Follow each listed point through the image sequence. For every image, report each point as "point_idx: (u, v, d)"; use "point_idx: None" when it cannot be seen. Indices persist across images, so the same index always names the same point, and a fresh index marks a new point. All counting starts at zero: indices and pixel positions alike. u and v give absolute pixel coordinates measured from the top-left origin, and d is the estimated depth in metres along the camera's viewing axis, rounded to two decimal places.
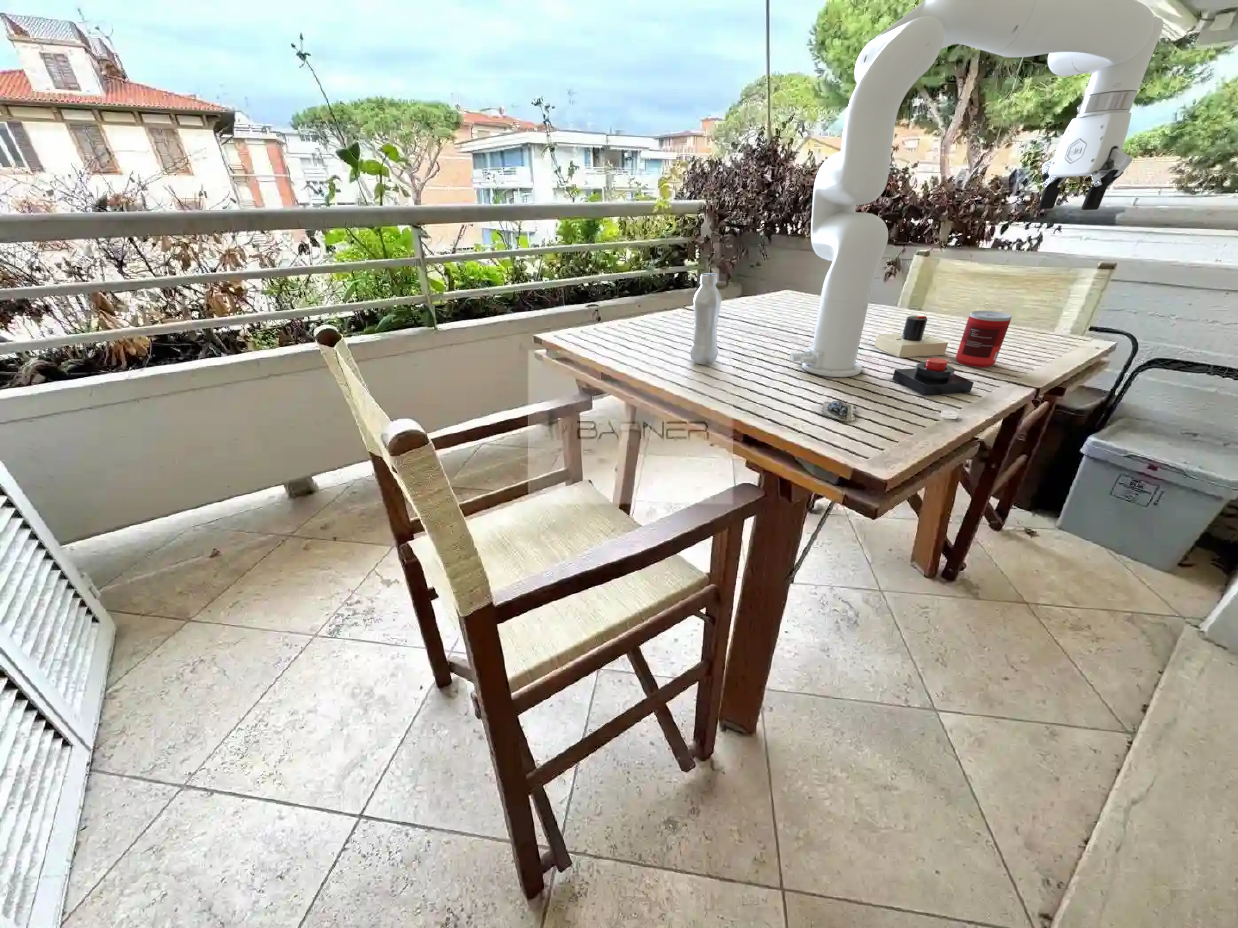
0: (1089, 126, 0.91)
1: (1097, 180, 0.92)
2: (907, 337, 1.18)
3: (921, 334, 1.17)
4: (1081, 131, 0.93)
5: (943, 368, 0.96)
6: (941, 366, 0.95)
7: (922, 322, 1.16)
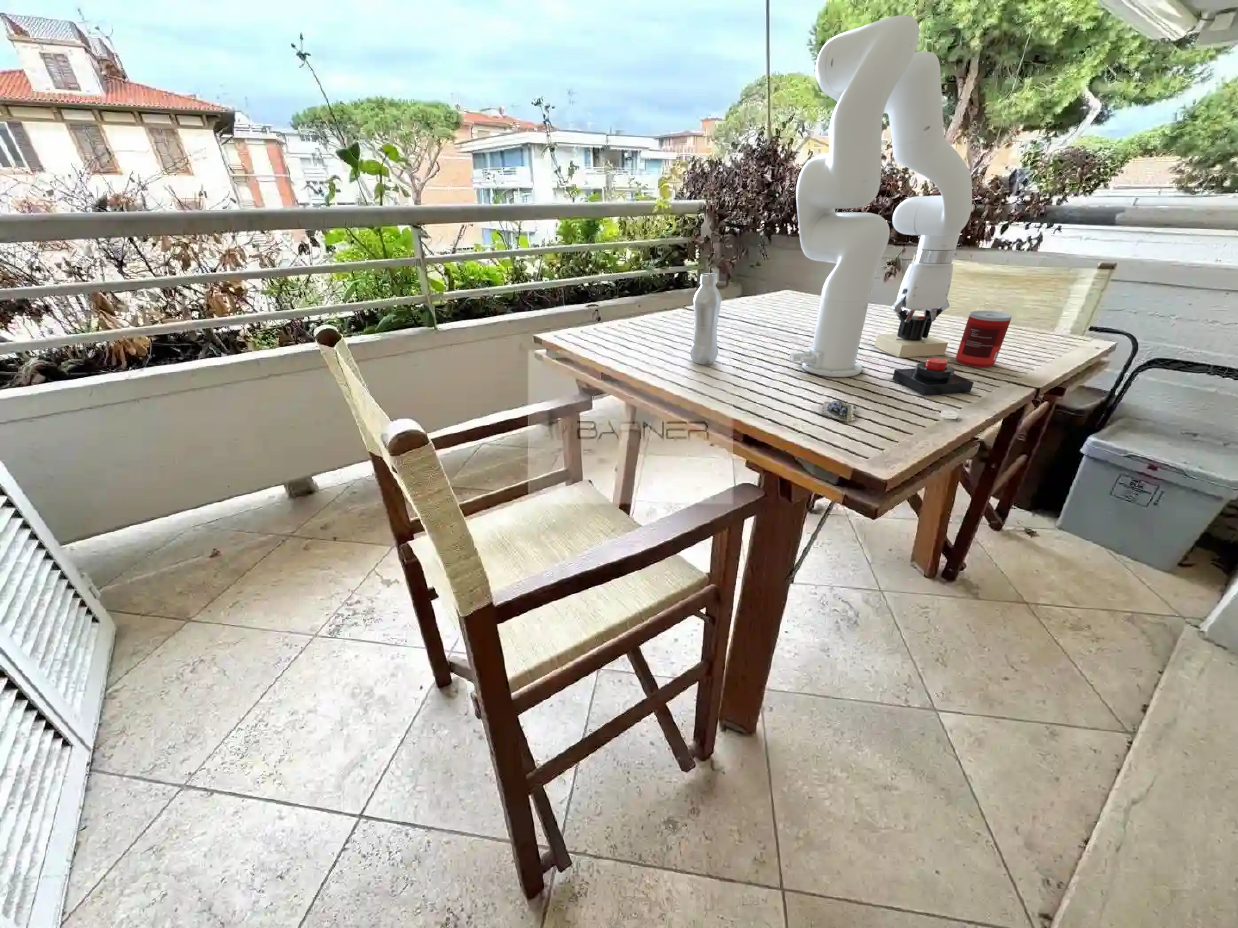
0: None
1: None
2: None
3: (921, 334, 1.17)
4: None
5: (943, 368, 0.96)
6: (941, 366, 0.95)
7: (922, 322, 1.16)
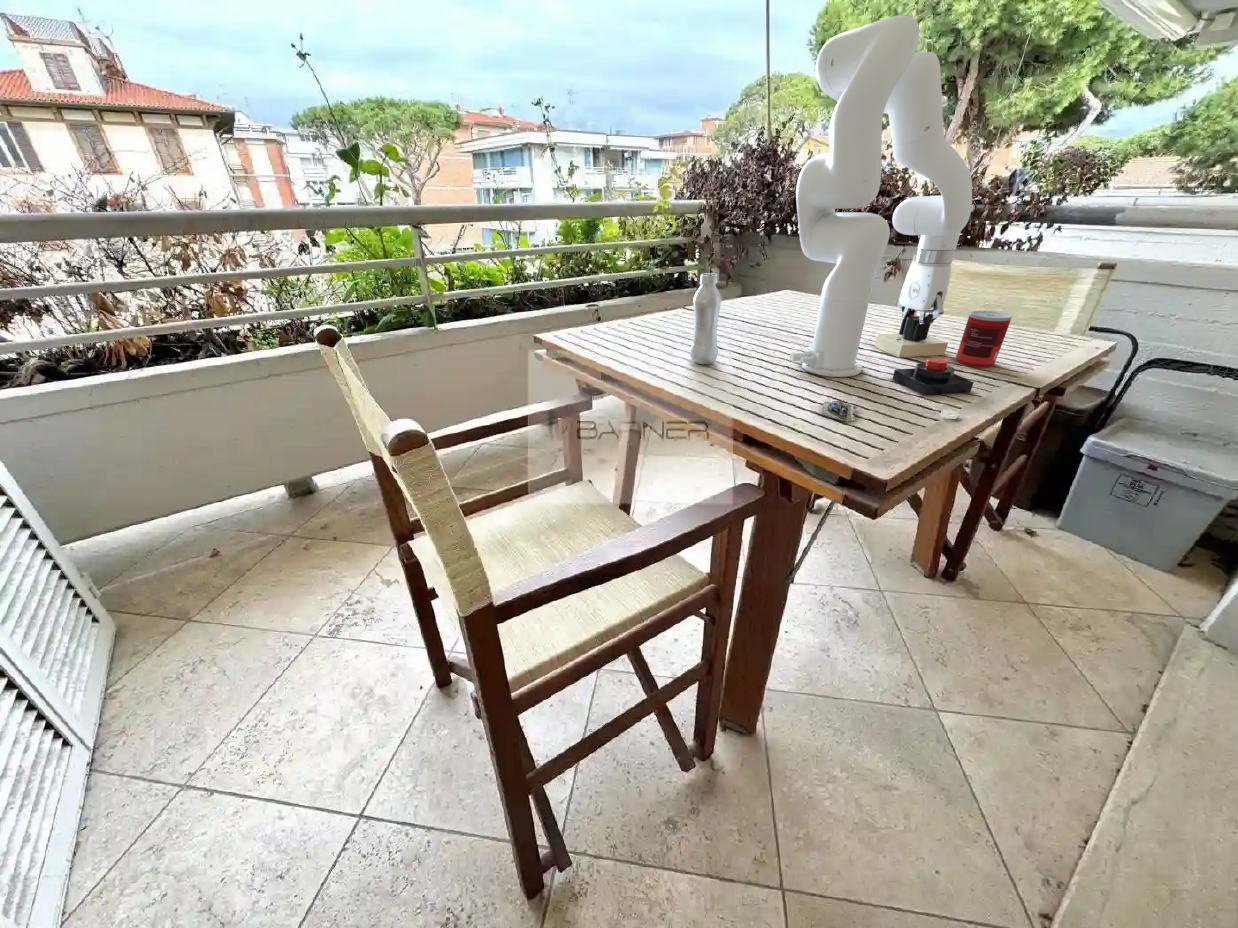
0: (921, 273, 1.11)
1: (921, 319, 1.14)
2: None
3: None
4: (916, 275, 1.13)
5: (943, 368, 0.96)
6: (941, 366, 0.95)
7: None
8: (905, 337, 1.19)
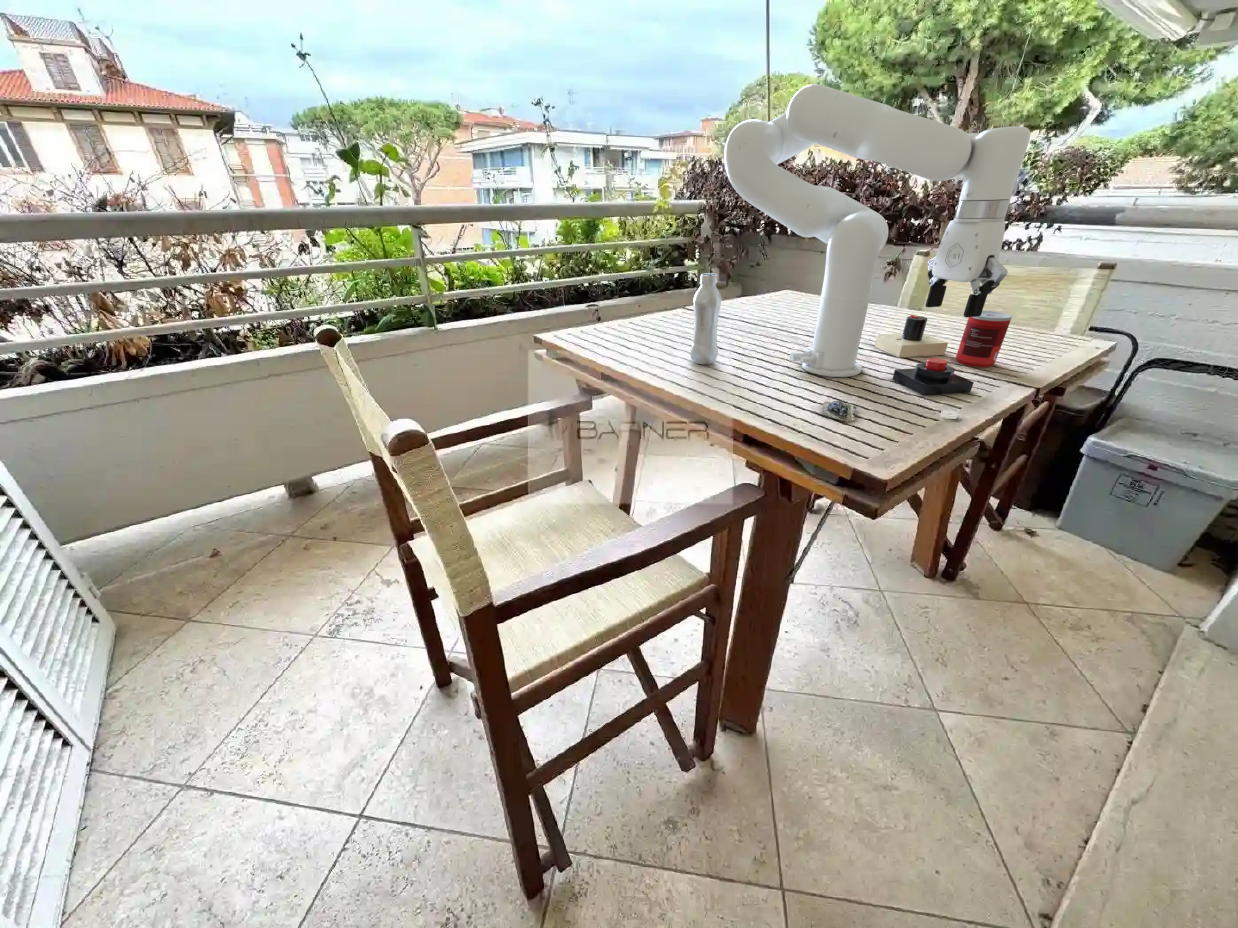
0: (965, 232, 0.86)
1: (976, 289, 0.86)
2: (921, 337, 1.18)
3: None
4: (958, 236, 0.87)
5: (943, 368, 0.96)
6: (941, 366, 0.95)
7: None
8: (905, 337, 1.19)
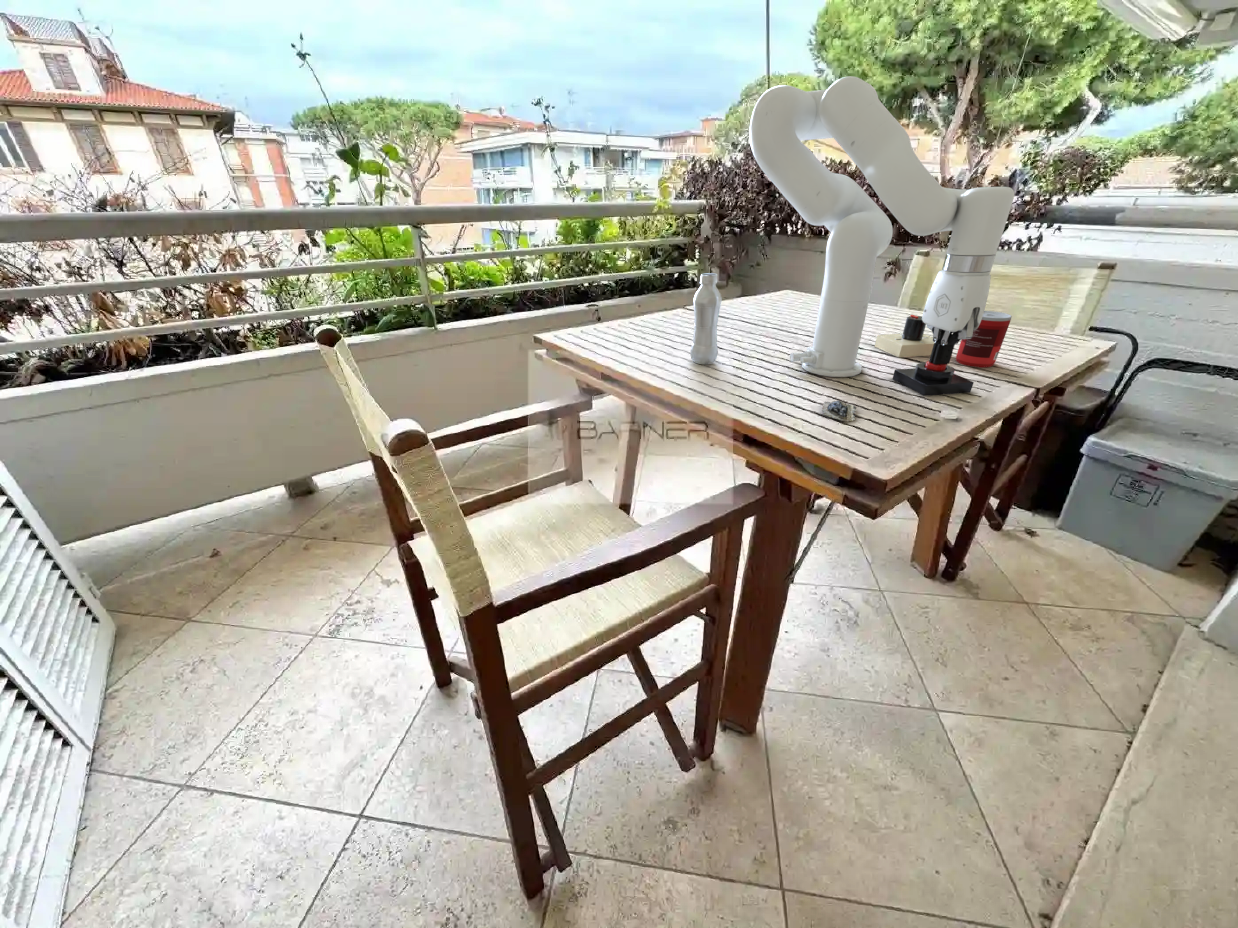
0: (952, 284, 0.88)
1: (944, 340, 0.93)
2: (921, 337, 1.18)
3: None
4: (945, 286, 0.90)
5: None
6: (940, 368, 0.96)
7: None
8: (905, 337, 1.19)
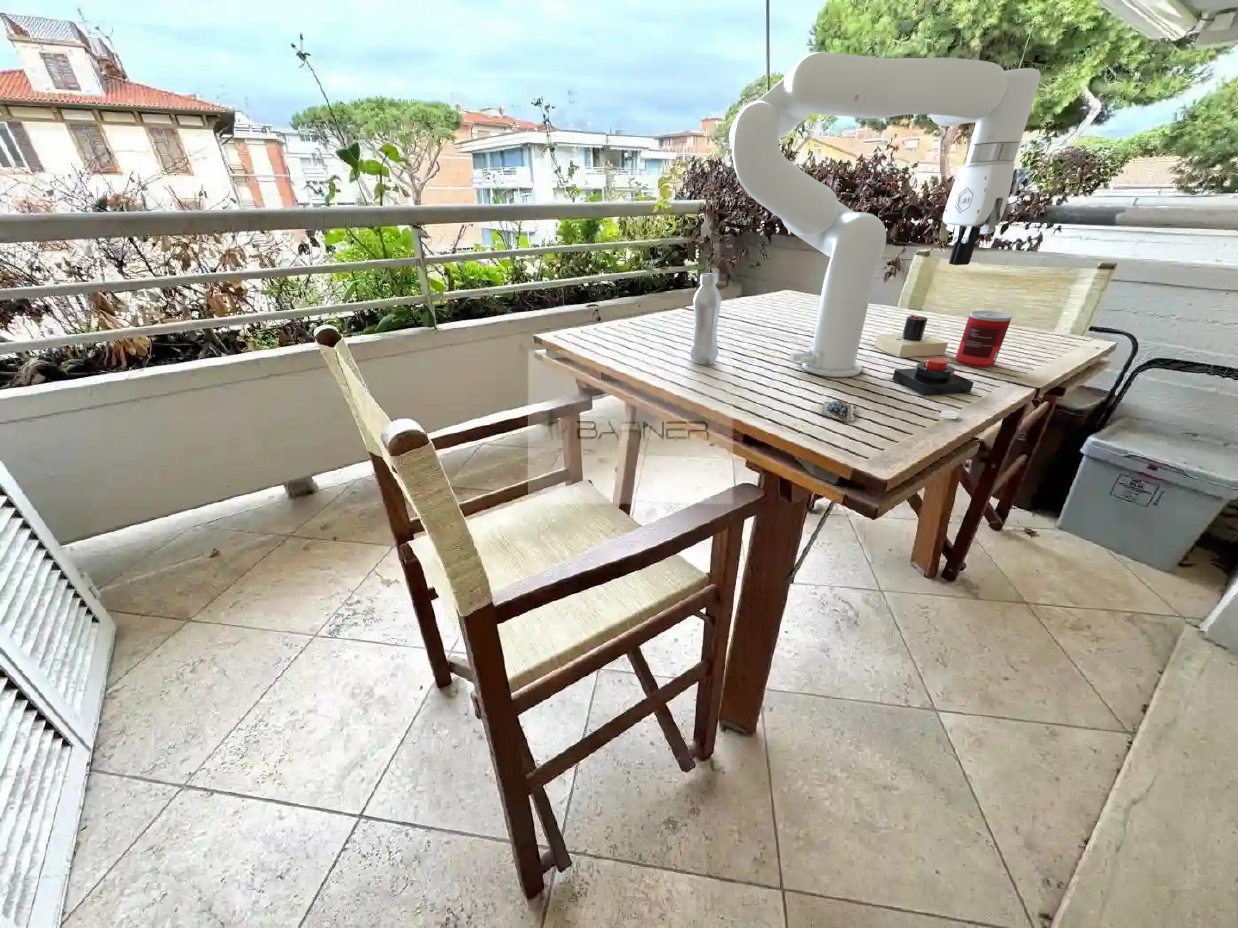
0: (975, 176, 0.88)
1: (966, 237, 0.93)
2: (921, 337, 1.18)
3: None
4: (968, 180, 0.90)
5: (943, 368, 0.96)
6: (941, 366, 0.95)
7: None
8: (905, 337, 1.19)
